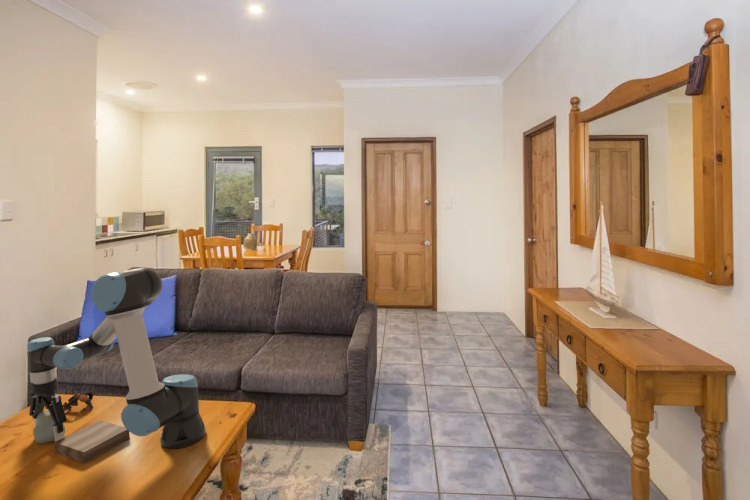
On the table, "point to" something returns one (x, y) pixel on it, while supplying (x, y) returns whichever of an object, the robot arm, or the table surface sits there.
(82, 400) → the brown curved piece
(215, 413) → the table surface
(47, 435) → the air freshener
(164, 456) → the table surface
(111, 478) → the table surface
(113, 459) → the table surface
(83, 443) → the walnut stand
